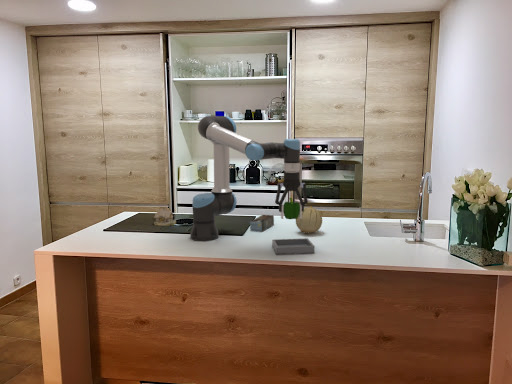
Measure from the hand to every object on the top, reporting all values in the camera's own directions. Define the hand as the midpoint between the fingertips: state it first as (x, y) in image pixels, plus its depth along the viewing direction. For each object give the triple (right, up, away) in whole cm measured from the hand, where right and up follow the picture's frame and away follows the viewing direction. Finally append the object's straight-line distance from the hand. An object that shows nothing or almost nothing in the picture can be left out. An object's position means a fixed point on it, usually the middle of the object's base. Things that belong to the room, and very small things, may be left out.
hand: (291, 218), depth 199 cm
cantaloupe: (+12, -10, +31) cm, 35 cm away
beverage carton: (-13, -9, +43) cm, 46 cm away
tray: (+1, -15, -1) cm, 15 cm away
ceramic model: (-74, -7, +56) cm, 92 cm away
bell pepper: (0, 0, 0) cm, 0 cm away
